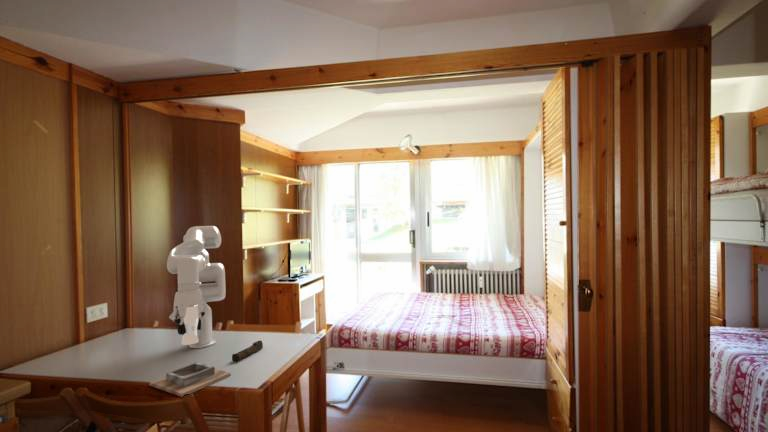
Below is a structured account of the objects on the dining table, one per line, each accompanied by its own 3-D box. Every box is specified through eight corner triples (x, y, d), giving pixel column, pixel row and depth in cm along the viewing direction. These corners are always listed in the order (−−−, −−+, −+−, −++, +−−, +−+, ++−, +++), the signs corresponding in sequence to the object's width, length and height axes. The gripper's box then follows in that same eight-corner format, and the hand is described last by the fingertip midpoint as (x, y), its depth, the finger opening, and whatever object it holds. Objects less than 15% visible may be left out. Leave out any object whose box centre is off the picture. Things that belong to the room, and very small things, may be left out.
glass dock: (149, 385, 139) (149, 374, 140) (197, 366, 157) (197, 357, 157) (182, 397, 129) (182, 385, 129) (230, 375, 146) (230, 365, 146)
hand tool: (238, 363, 160) (238, 352, 160) (231, 362, 162) (231, 351, 162) (267, 349, 178) (266, 339, 178) (260, 348, 179) (260, 339, 179)
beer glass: (179, 347, 138) (178, 308, 139) (180, 342, 145) (179, 305, 145) (199, 343, 142) (198, 305, 142) (199, 338, 148) (198, 302, 148)
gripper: (202, 283, 153) (203, 325, 153) (161, 290, 138) (162, 337, 138) (213, 284, 149) (215, 327, 149) (172, 291, 134) (173, 339, 134)
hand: (189, 331), depth 143 cm, fingers closed on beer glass, 6 cm apart
